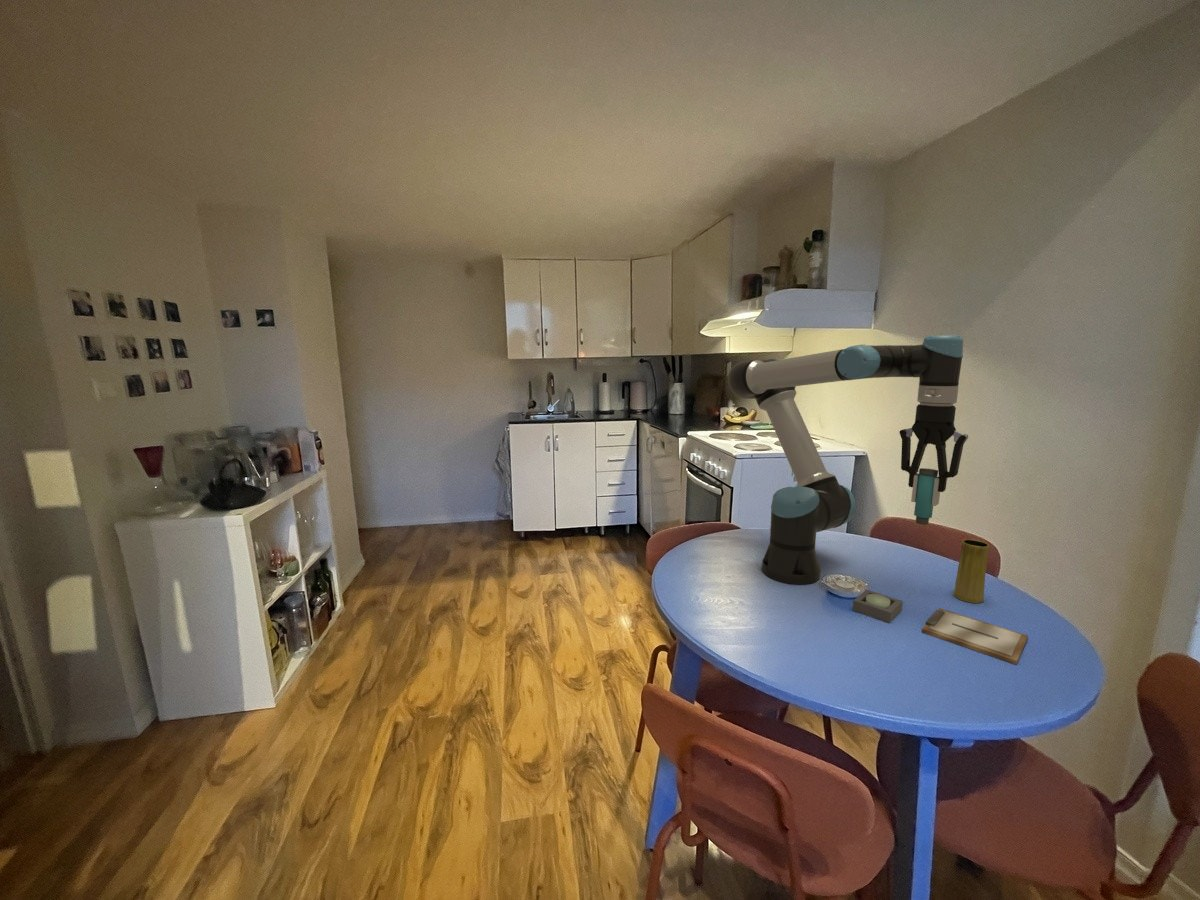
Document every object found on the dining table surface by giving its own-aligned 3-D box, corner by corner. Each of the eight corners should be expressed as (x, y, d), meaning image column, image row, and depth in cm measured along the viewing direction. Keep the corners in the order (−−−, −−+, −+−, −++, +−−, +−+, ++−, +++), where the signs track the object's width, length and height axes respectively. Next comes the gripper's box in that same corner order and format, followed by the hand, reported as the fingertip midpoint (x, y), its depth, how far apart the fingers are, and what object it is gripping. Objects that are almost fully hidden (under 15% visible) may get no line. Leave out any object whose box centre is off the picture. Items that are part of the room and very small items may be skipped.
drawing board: (921, 632, 108) (922, 626, 107) (938, 611, 116) (939, 605, 116) (1016, 664, 96) (1017, 658, 96) (1027, 639, 105) (1028, 632, 104)
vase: (989, 604, 119) (997, 548, 116) (960, 602, 120) (967, 546, 118) (975, 592, 125) (983, 539, 122) (948, 590, 126) (955, 537, 124)
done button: (861, 609, 117) (862, 598, 117) (869, 602, 120) (870, 591, 120) (884, 617, 113) (886, 606, 113) (892, 610, 117) (893, 599, 116)
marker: (911, 523, 118) (918, 469, 116) (914, 519, 121) (920, 467, 119) (930, 526, 116) (937, 472, 114) (932, 523, 119) (939, 469, 117)
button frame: (852, 610, 117) (853, 600, 117) (865, 598, 122) (866, 589, 122) (889, 623, 111) (890, 612, 111) (901, 610, 117) (902, 600, 116)
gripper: (890, 403, 117) (881, 498, 122) (976, 407, 105) (962, 513, 110) (901, 401, 122) (891, 492, 127) (984, 405, 110) (971, 506, 114)
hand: (924, 502), depth 118 cm, fingers closed on marker, 3 cm apart
